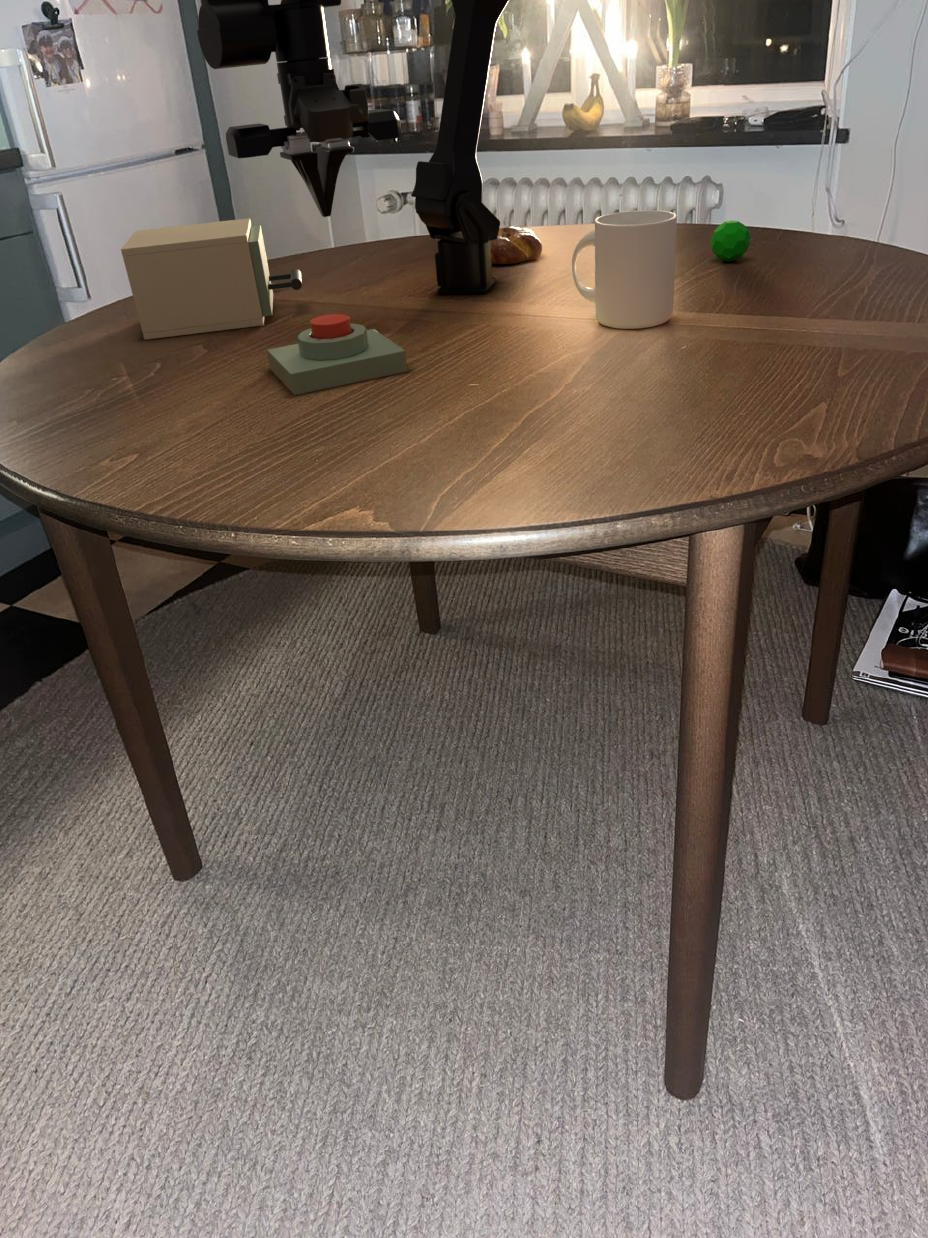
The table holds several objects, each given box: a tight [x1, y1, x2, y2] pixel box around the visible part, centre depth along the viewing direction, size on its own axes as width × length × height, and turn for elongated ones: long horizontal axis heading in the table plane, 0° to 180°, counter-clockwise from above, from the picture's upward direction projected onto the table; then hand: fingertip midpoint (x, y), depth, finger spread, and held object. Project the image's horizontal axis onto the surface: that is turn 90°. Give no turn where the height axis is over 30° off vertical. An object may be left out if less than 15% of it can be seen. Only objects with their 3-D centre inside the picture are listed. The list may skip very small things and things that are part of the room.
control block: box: [266, 322, 408, 396], centre depth 97 cm, size 12×10×4 cm
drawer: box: [248, 224, 303, 318], centre depth 119 cm, size 18×11×9 cm, turn 99°
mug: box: [571, 209, 678, 330], centre depth 104 cm, size 9×12×11 cm
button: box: [309, 313, 352, 339], centre depth 96 cm, size 4×4×2 cm
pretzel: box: [490, 226, 543, 265], centre depth 137 cm, size 12×11×4 cm
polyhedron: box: [710, 220, 751, 262], centre depth 125 cm, size 5×5×5 cm
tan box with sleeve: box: [120, 217, 265, 341], centre depth 118 cm, size 15×13×11 cm
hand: (326, 216), depth 109 cm, fingers closed
